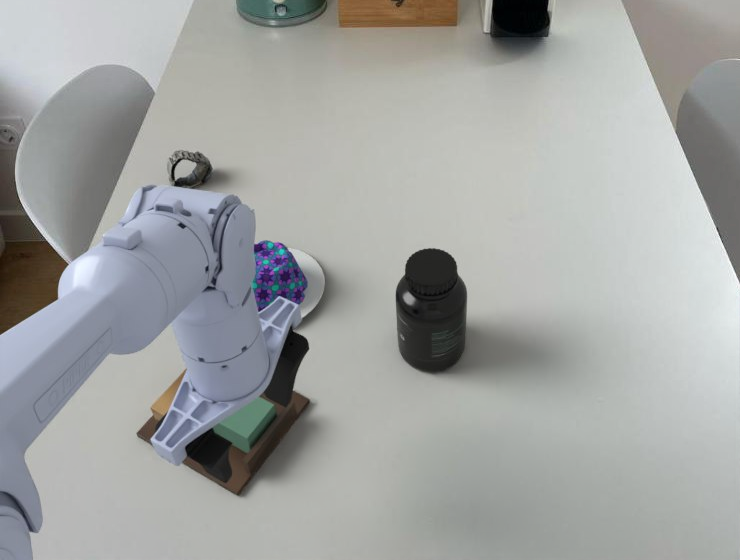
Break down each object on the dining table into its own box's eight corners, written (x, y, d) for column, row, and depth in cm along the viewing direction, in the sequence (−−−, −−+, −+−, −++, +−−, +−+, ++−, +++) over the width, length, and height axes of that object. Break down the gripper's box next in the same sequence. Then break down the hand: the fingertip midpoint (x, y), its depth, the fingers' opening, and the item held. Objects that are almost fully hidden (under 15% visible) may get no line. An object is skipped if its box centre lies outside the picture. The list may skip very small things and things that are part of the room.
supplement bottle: (389, 330, 84) (384, 250, 76) (450, 312, 86) (451, 232, 78) (411, 382, 79) (408, 303, 71) (475, 362, 81) (480, 282, 73)
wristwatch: (197, 197, 102) (216, 165, 101) (160, 183, 99) (180, 151, 98) (191, 184, 105) (211, 153, 103) (155, 171, 101) (174, 139, 100)
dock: (238, 496, 71) (232, 481, 69) (137, 436, 76) (130, 421, 74) (310, 402, 78) (307, 386, 76) (214, 352, 83) (209, 337, 81)
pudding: (347, 280, 89) (344, 247, 86) (274, 353, 82) (266, 320, 79) (267, 236, 95) (261, 203, 91) (192, 301, 88) (181, 269, 84)
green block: (252, 456, 73) (247, 438, 71) (209, 432, 75) (203, 414, 73) (279, 422, 76) (274, 404, 74) (237, 400, 78) (231, 381, 76)
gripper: (239, 242, 62) (265, 351, 71) (99, 382, 53) (149, 486, 62) (315, 276, 59) (332, 384, 68) (181, 429, 50) (220, 530, 59)
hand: (249, 435), depth 65 cm, fingers open, 7 cm apart
